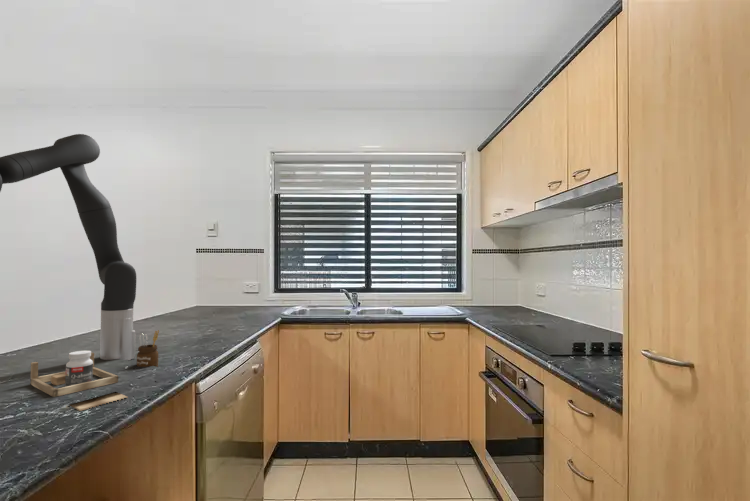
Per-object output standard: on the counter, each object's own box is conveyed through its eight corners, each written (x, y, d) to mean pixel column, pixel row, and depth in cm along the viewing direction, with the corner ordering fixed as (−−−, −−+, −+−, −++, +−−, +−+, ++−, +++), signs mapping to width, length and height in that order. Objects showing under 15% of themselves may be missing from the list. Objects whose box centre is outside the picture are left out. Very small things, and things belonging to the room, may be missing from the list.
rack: (92, 376, 115) (92, 352, 115) (118, 387, 105) (118, 361, 106) (30, 389, 103) (30, 362, 103) (53, 402, 94) (54, 373, 94)
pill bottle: (70, 395, 99) (71, 356, 99) (61, 391, 102) (61, 353, 102) (96, 389, 104) (97, 351, 104) (86, 385, 107) (87, 348, 107)
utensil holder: (146, 365, 127) (147, 328, 127) (163, 366, 126) (164, 329, 126) (131, 370, 121) (132, 331, 121) (149, 371, 120) (150, 332, 120)
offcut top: (81, 376, 110) (81, 369, 110) (86, 378, 109) (87, 371, 109) (51, 383, 104) (51, 375, 104) (56, 385, 102) (56, 377, 102)
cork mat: (109, 390, 103) (109, 389, 103) (127, 398, 97) (127, 396, 97) (62, 401, 94) (62, 400, 94) (79, 411, 89) (79, 409, 89)
